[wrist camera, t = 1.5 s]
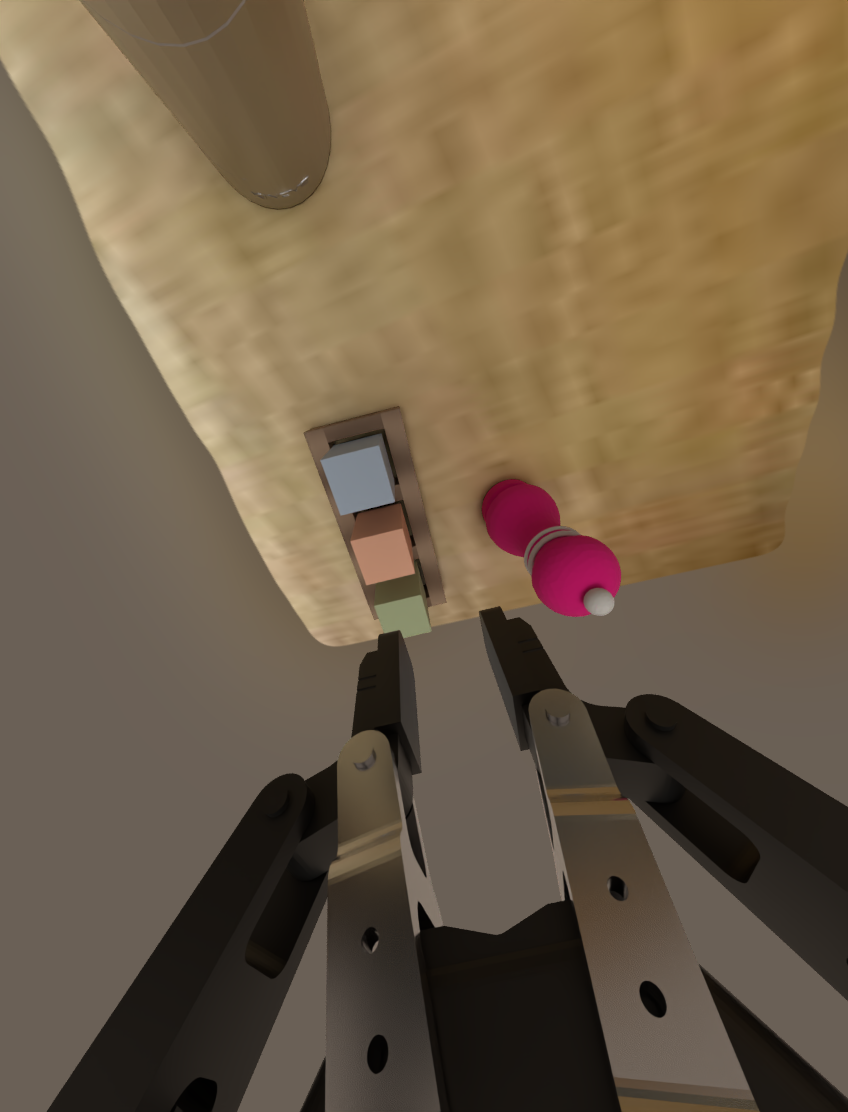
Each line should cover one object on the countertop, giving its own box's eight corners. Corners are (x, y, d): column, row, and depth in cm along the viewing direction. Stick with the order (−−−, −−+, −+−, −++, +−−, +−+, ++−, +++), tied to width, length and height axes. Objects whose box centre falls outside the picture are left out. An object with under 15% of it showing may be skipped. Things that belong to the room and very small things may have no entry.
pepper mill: (549, 510, 39) (678, 615, 22) (497, 545, 41) (577, 670, 23) (520, 460, 36) (641, 534, 19) (465, 500, 38) (529, 603, 20)
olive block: (377, 569, 38) (374, 605, 32) (416, 560, 38) (421, 594, 32) (388, 602, 40) (387, 641, 34) (425, 593, 40) (431, 631, 34)
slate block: (334, 445, 32) (320, 460, 26) (381, 432, 32) (378, 445, 25) (350, 491, 34) (340, 515, 28) (394, 480, 34) (394, 502, 28)
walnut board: (310, 429, 33) (303, 433, 31) (399, 406, 33) (399, 408, 30) (375, 605, 43) (374, 619, 41) (443, 589, 43) (446, 602, 41)
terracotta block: (357, 513, 35) (350, 541, 29) (400, 502, 35) (402, 528, 29) (370, 551, 37) (366, 585, 31) (411, 541, 37) (415, 573, 31)
